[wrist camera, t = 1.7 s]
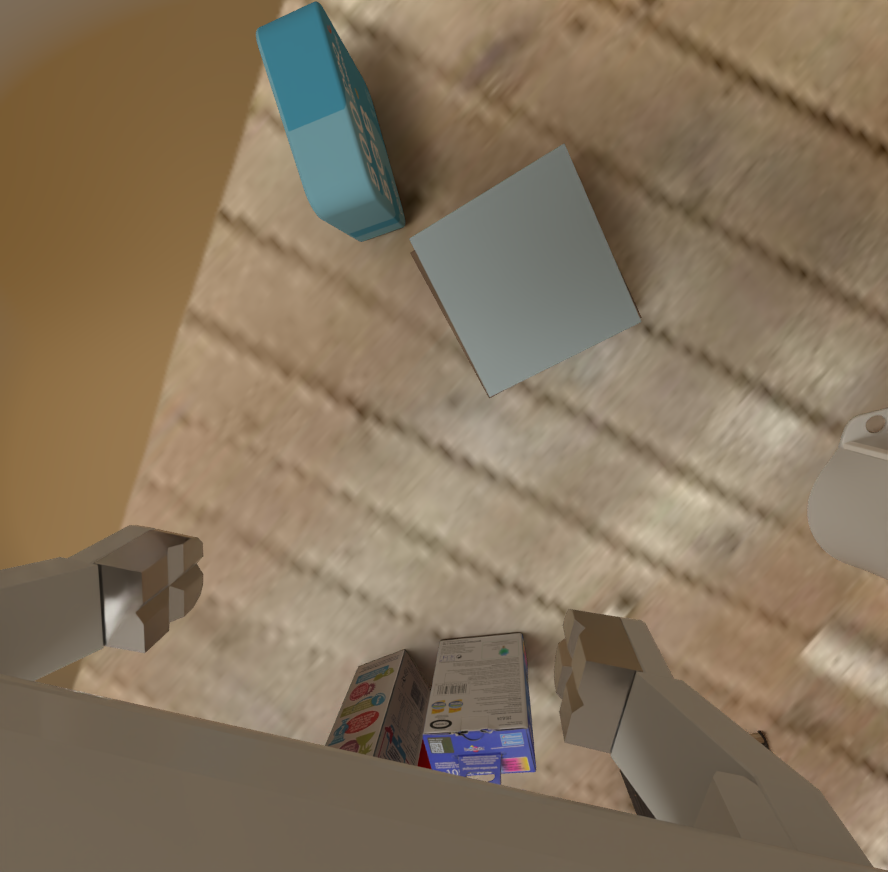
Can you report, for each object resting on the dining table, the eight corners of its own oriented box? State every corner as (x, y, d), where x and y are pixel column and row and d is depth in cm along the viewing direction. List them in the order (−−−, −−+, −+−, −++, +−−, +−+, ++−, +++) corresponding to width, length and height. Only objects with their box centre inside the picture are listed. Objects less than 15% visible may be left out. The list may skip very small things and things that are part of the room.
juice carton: (431, 692, 53) (384, 935, 32) (384, 708, 55) (311, 950, 34) (404, 649, 52) (339, 870, 31) (358, 666, 54) (264, 889, 33)
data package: (408, 229, 41) (372, 192, 29) (364, 245, 42) (311, 215, 30) (368, 87, 38) (311, -15, 27) (322, 106, 39) (247, 16, 28)
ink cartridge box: (447, 678, 53) (427, 806, 39) (437, 639, 51) (413, 756, 37) (530, 672, 51) (541, 803, 37) (522, 630, 50) (529, 750, 36)
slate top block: (555, 168, 34) (564, 143, 29) (623, 321, 36) (641, 321, 31) (421, 249, 37) (409, 238, 32) (491, 388, 39) (489, 397, 34)
